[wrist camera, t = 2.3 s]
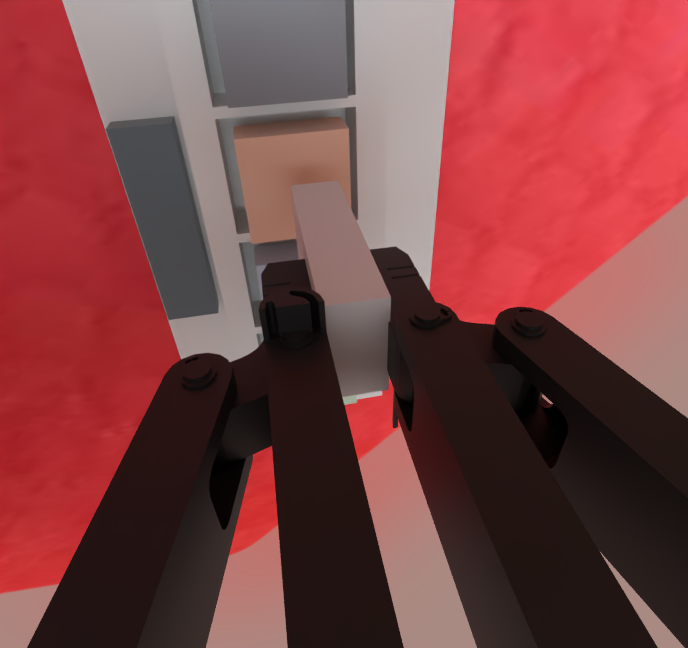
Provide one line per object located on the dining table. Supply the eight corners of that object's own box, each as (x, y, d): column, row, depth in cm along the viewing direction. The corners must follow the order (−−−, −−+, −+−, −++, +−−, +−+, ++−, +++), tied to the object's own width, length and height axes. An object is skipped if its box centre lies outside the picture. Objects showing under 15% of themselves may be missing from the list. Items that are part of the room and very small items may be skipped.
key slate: (265, 310, 24) (268, 341, 22) (253, 237, 21) (255, 266, 19) (344, 298, 24) (354, 329, 22) (341, 227, 22) (352, 253, 20)
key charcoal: (227, 91, 18) (228, 108, 16) (204, -46, 15) (201, -46, 13) (335, 82, 18) (348, 98, 16) (329, -52, 16) (343, -53, 14)
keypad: (194, 391, 29) (191, 427, 26) (34, -99, 15) (2, -108, 13) (420, 355, 30) (434, 386, 28) (458, -112, 17) (492, -122, 15)
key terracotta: (249, 217, 21) (251, 244, 19) (232, 119, 18) (233, 139, 16) (340, 206, 21) (351, 231, 19) (336, 110, 19) (349, 128, 17)
